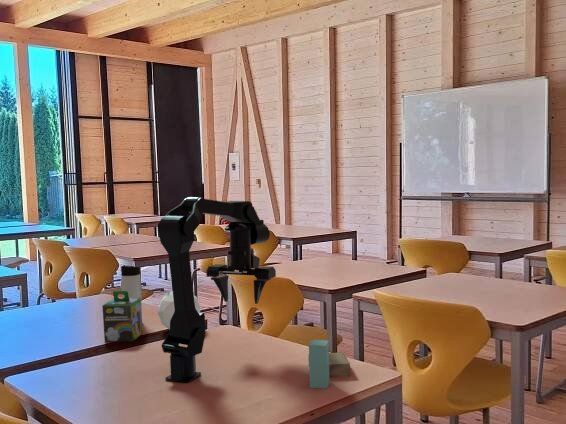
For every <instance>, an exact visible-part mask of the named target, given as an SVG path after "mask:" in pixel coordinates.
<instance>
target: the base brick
mask: <svg viewBox="0 0 566 424" xmlns="http://www.w3.org/2000/svg"><path fill="white" fill-rule="evenodd" d="M308 356H309V353H308ZM343 377H346V378H347V377H351V362H350V361H349V360H348V357H347V355H346V354H345V353H344V352H329V378H343Z"/></svg>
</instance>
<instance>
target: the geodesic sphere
mask: <svg viewBox="0 0 566 424" xmlns="http://www.w3.org/2000/svg"><path fill="white" fill-rule="evenodd" d="M194 302H195V308H196V310H197V312H198V313H201V305H200V302H199V299H198V297H197V296H196V295H195V294H194ZM174 311H175V308H174V299H173V291H172V290H171V291H166V293H165V295H164V296H163V298H162V299H161V300H160V302H159V306H158V310H157V315H158V317H159V319H160V323H161V325H163V326H164V327H165V328H167V329H168V330H169V331H170V320H171V318H172V316H173V314H174Z"/></svg>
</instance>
